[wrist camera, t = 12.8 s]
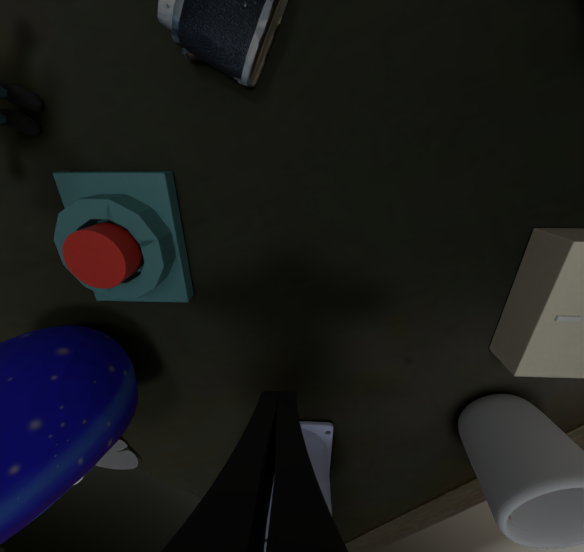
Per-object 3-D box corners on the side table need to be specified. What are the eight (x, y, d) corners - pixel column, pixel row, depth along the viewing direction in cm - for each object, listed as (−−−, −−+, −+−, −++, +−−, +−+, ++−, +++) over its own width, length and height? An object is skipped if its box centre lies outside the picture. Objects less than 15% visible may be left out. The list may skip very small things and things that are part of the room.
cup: (570, 428, 26) (675, 538, 18) (492, 465, 28) (557, 574, 21) (506, 366, 23) (600, 467, 16) (427, 413, 26) (476, 518, 18)
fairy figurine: (119, 404, 25) (96, 495, 23) (152, 396, 32) (137, 466, 30) (52, 398, 25) (22, 489, 23) (99, 392, 32) (80, 462, 30)
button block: (194, 294, 21) (178, 316, 19) (106, 293, 22) (78, 314, 19) (173, 171, 18) (148, 175, 15) (66, 171, 18) (24, 175, 15)
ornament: (66, 392, 26) (-187, 649, 13) (12, 311, 23) (-428, 553, 9) (174, 381, 25) (22, 653, 12) (135, 295, 22) (-157, 545, 8)
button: (147, 277, 18) (132, 289, 16) (94, 276, 18) (74, 288, 16) (134, 222, 16) (116, 230, 15) (76, 222, 17) (52, 229, 15)
